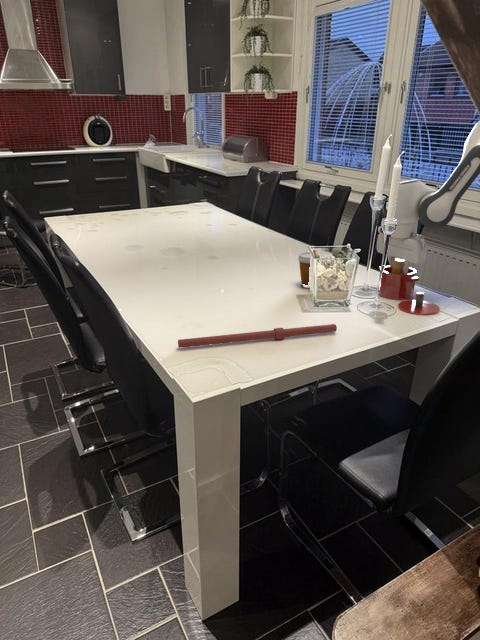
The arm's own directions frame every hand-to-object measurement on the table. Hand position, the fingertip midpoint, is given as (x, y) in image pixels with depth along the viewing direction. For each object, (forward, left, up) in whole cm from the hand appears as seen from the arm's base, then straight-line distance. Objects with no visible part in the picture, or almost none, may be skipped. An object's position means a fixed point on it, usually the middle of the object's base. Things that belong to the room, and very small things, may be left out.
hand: (398, 270), depth 160 cm
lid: (+3, +14, -9) cm, 17 cm away
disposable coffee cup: (+20, -24, -9) cm, 33 cm away
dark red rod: (+60, +13, -9) cm, 62 cm away
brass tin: (0, 0, -2) cm, 2 cm away
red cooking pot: (0, 0, -9) cm, 9 cm away
